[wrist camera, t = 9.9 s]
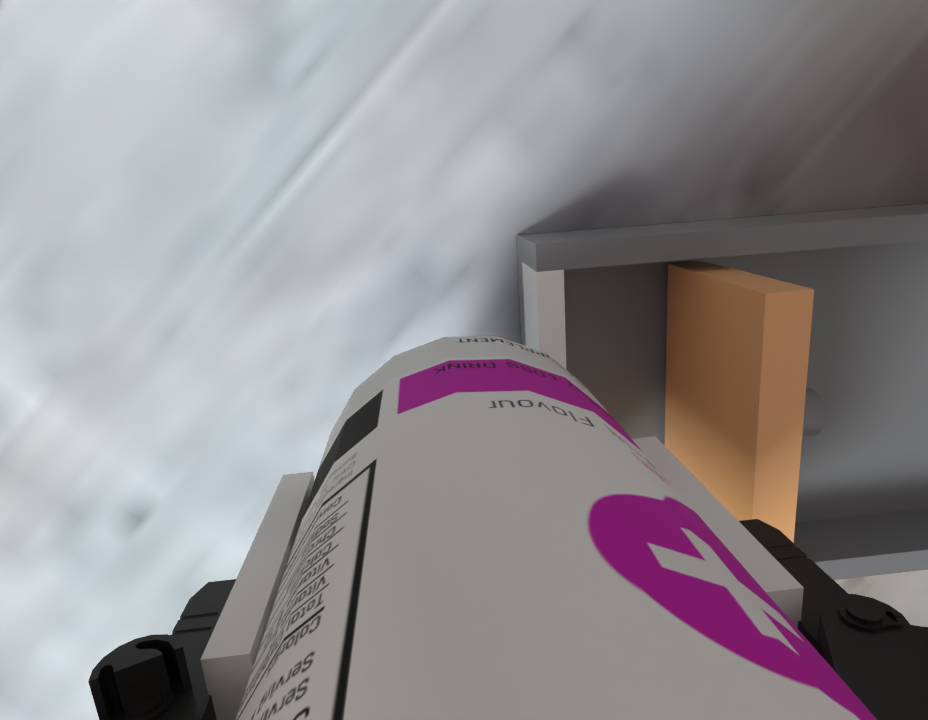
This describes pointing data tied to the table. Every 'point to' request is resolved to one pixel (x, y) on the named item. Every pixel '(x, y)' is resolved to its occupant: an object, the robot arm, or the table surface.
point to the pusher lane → (829, 365)
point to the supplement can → (516, 568)
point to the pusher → (740, 387)
